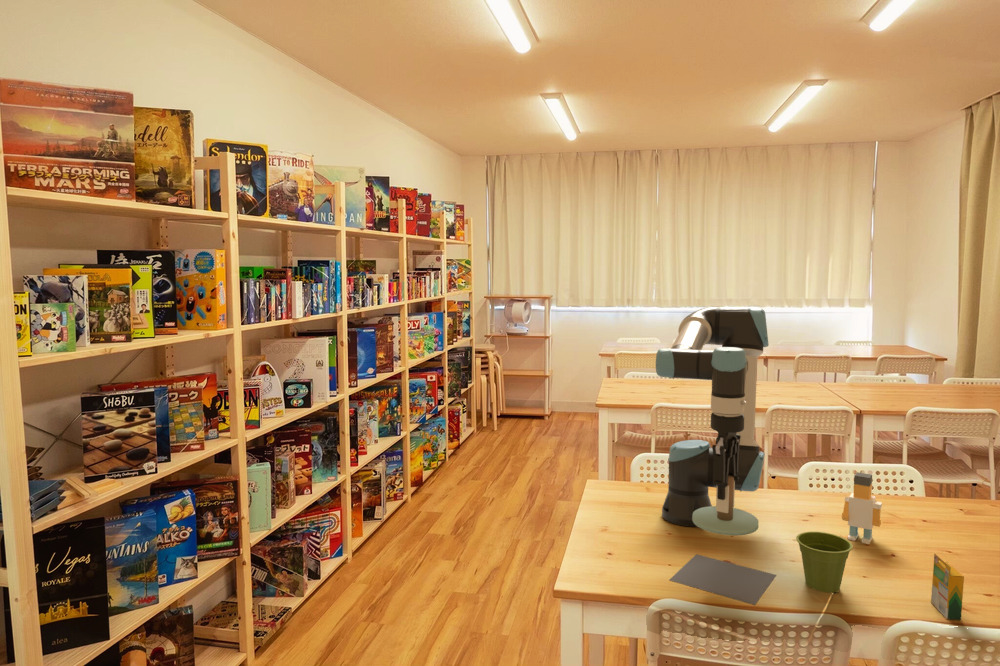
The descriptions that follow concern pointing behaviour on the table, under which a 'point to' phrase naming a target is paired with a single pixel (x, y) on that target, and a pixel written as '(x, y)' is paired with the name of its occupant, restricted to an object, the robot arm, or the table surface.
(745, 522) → the lid
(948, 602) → the crayon box
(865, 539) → the character figure
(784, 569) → the table surface
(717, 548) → the table surface
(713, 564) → the mat
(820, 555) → the plant pot
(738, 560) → the table surface
